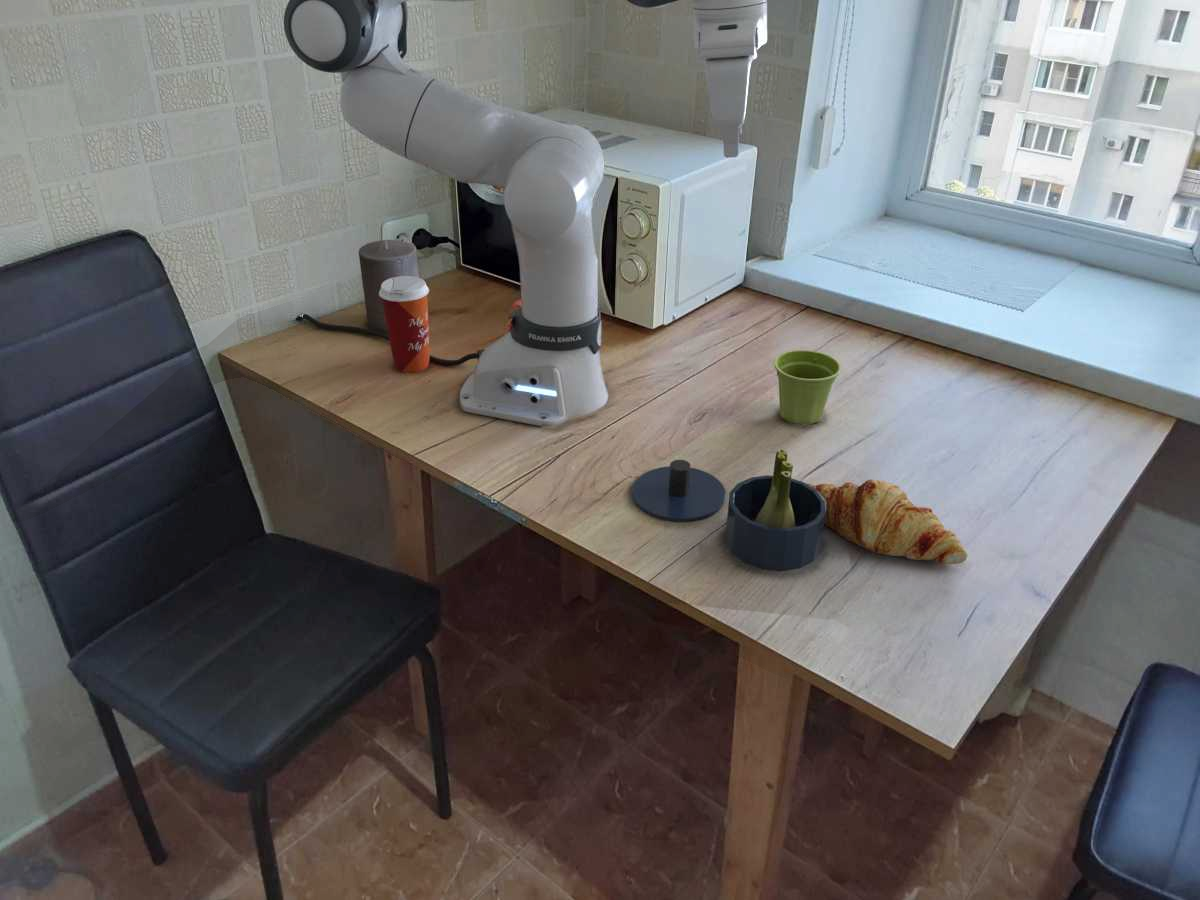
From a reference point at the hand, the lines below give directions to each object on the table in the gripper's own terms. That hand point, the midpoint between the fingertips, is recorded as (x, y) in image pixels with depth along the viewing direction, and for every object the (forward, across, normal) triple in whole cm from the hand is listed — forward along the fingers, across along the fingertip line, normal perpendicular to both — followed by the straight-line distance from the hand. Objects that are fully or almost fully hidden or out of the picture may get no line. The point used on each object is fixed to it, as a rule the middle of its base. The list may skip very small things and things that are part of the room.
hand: (733, 146), depth 123 cm
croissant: (+41, +28, +18) cm, 53 cm away
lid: (+38, +24, -7) cm, 45 cm away
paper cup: (+34, -7, -53) cm, 63 cm away
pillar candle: (+33, -22, -61) cm, 73 cm away
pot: (+40, +32, +5) cm, 51 cm away
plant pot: (+40, 0, +9) cm, 41 cm away
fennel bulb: (+39, +32, +5) cm, 51 cm away
